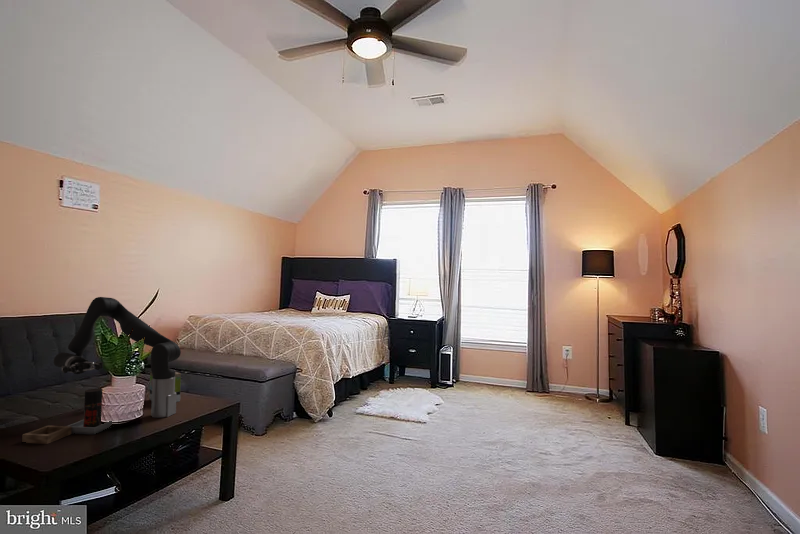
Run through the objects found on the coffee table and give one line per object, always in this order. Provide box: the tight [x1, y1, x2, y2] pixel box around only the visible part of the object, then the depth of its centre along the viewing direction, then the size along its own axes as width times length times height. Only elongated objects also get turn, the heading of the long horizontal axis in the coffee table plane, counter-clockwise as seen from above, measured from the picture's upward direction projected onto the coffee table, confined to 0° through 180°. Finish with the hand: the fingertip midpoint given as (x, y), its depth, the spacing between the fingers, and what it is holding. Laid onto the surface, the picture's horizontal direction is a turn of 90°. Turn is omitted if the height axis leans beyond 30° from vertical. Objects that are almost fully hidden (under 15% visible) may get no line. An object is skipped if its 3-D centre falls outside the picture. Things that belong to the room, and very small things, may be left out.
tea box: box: [148, 371, 182, 403], centre depth 218 cm, size 15×10×15 cm, turn 50°
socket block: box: [21, 425, 72, 445], centre depth 164 cm, size 10×10×3 cm
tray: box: [67, 419, 112, 435], centre depth 176 cm, size 13×13×2 cm
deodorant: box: [83, 387, 103, 427], centre depth 176 cm, size 6×6×15 cm
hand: (87, 368), depth 184 cm, fingers open, 8 cm apart
